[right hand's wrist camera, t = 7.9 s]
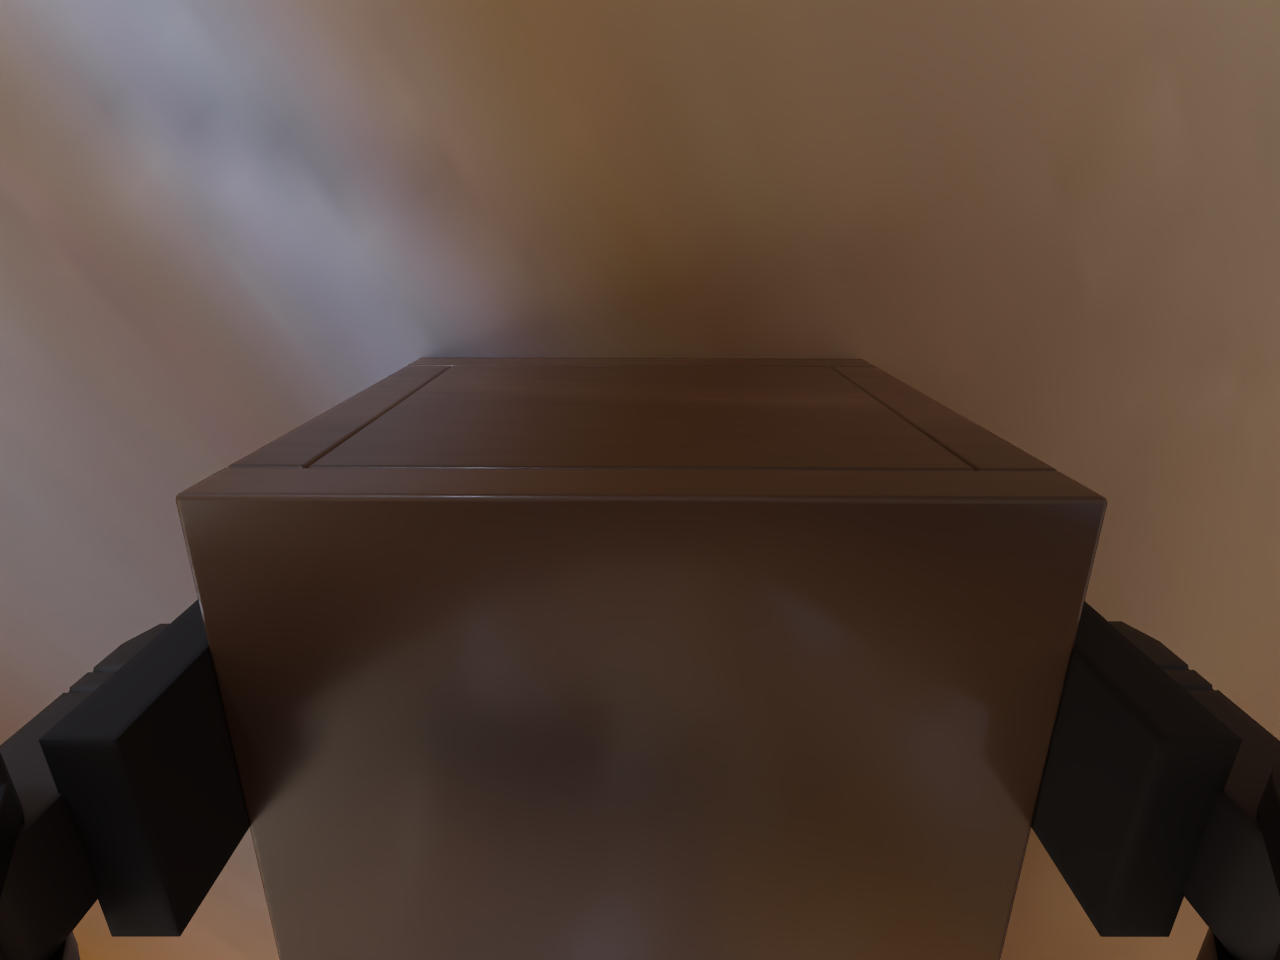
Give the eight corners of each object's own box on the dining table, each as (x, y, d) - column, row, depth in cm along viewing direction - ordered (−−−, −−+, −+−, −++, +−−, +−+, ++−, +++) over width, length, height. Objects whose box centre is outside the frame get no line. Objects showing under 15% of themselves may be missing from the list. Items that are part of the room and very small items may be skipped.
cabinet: (796, 984, 23) (890, 1435, 14) (481, 982, 23) (384, 1432, 14) (863, 358, 16) (1111, 498, 8) (420, 356, 16) (170, 494, 8)
